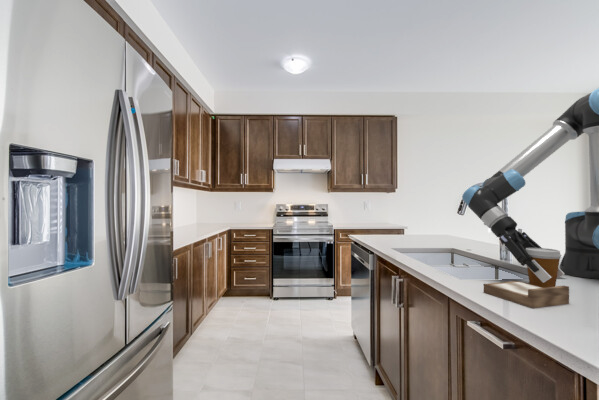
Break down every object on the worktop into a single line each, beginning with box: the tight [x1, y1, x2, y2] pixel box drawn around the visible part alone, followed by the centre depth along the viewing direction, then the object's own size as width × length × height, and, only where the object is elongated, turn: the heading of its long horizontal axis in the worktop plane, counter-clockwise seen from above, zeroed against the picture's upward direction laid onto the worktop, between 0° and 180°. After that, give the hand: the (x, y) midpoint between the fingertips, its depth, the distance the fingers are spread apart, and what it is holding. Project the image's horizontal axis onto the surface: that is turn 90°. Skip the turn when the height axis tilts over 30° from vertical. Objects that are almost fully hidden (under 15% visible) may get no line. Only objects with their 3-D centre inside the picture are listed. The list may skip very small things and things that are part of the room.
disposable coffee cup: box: [525, 247, 563, 288], centre depth 103 cm, size 10×10×12 cm
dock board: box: [483, 280, 570, 309], centre depth 93 cm, size 13×15×4 cm
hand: (554, 278), depth 100 cm, fingers closed on disposable coffee cup, 9 cm apart
